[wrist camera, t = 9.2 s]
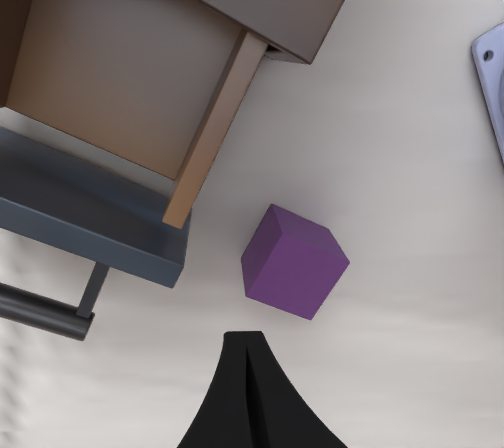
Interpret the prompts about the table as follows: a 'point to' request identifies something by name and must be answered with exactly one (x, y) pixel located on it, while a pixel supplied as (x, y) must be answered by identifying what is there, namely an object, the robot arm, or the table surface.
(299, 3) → the cabinet
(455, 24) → the table surface
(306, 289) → the block
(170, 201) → the drawer
